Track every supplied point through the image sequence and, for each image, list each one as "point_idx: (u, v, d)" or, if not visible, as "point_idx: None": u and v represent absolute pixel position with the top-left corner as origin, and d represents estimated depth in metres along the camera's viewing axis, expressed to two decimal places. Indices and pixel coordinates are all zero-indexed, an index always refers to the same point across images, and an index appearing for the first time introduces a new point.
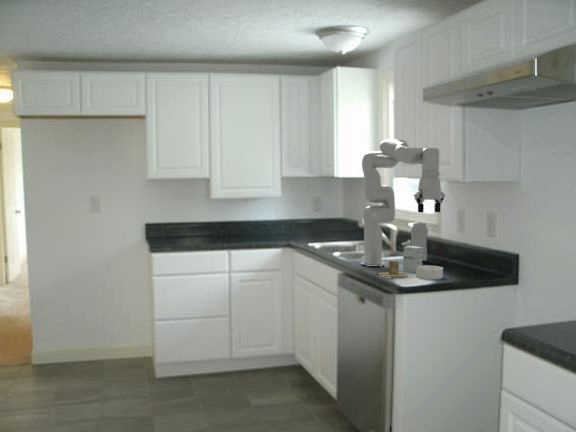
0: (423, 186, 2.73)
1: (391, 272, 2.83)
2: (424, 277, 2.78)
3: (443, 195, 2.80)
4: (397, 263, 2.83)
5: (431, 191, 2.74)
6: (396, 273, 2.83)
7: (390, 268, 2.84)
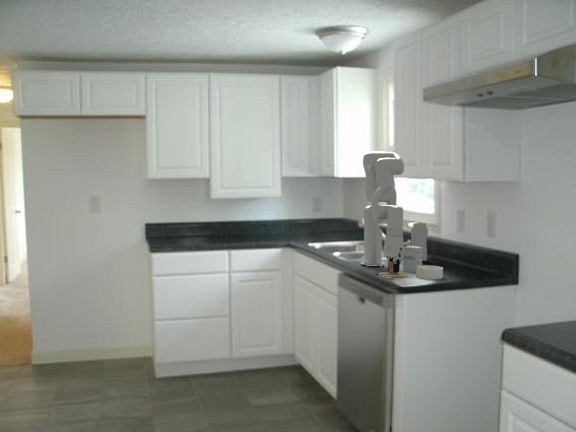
0: (402, 245, 2.80)
1: (391, 272, 2.83)
2: (424, 277, 2.78)
3: None
4: None
5: None
6: (396, 273, 2.83)
7: (390, 268, 2.84)
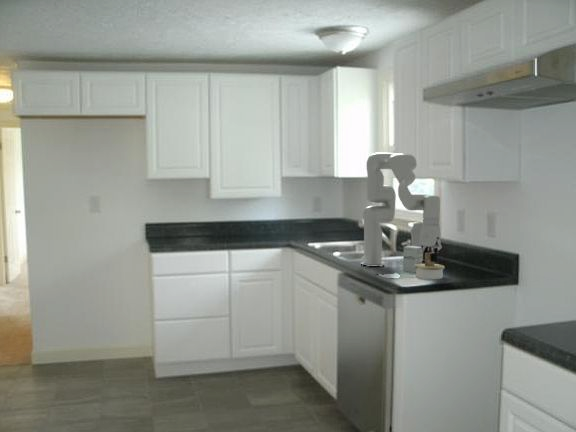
0: (439, 234, 2.77)
1: (427, 264, 2.81)
2: (424, 277, 2.78)
3: None
4: None
5: None
6: (432, 265, 2.81)
7: (426, 260, 2.82)
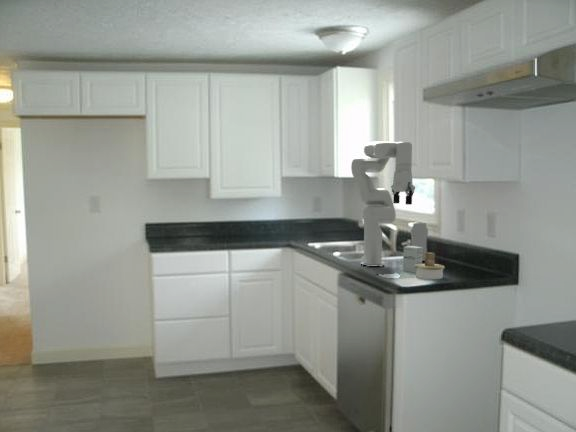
0: (411, 179, 2.84)
1: (427, 264, 2.81)
2: (424, 277, 2.78)
3: None
4: (433, 254, 2.81)
5: None
6: (432, 265, 2.81)
7: (426, 260, 2.82)
